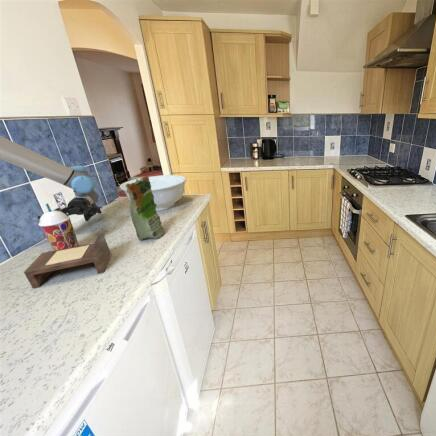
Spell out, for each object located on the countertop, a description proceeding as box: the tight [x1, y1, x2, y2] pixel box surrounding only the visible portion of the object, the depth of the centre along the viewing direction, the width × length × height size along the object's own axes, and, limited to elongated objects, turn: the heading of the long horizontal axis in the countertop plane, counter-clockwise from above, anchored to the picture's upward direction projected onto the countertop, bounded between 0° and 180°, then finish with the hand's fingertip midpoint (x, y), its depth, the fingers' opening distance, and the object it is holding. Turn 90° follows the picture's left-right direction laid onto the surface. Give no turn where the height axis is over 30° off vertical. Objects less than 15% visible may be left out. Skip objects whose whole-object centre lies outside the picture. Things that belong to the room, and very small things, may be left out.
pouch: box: [126, 176, 165, 241], centre depth 98 cm, size 11×12×25 cm
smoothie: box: [37, 203, 80, 251], centre depth 88 cm, size 8×8×20 cm
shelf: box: [23, 233, 112, 289], centre depth 80 cm, size 18×12×9 cm, turn 115°
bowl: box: [119, 174, 187, 212], centre depth 135 cm, size 32×32×15 cm
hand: (63, 221), depth 92 cm, fingers open, 13 cm apart
